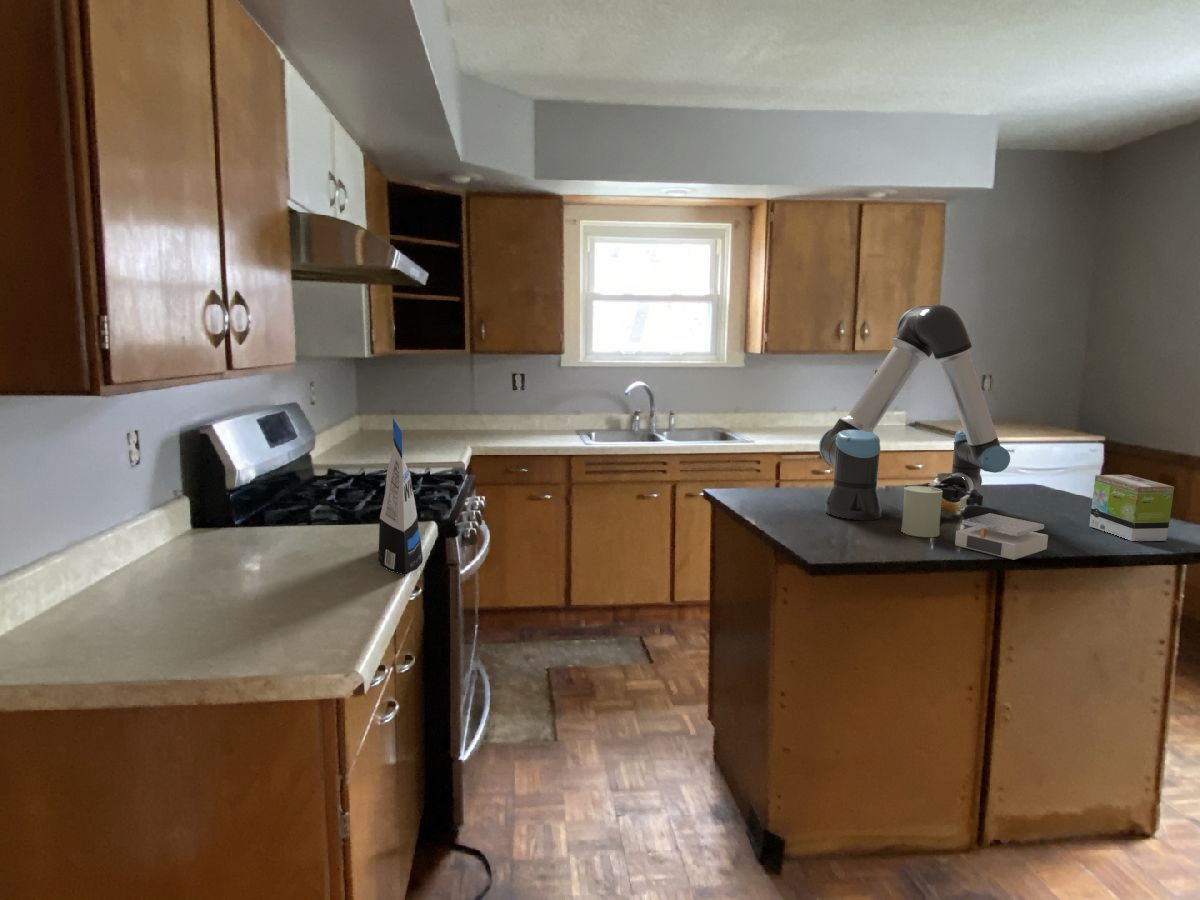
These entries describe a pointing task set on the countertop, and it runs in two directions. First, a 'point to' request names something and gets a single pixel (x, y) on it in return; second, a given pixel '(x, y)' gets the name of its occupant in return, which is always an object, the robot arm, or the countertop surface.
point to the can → (921, 511)
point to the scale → (1001, 542)
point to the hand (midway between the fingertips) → (933, 500)
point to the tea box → (1131, 507)
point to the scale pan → (1002, 525)
